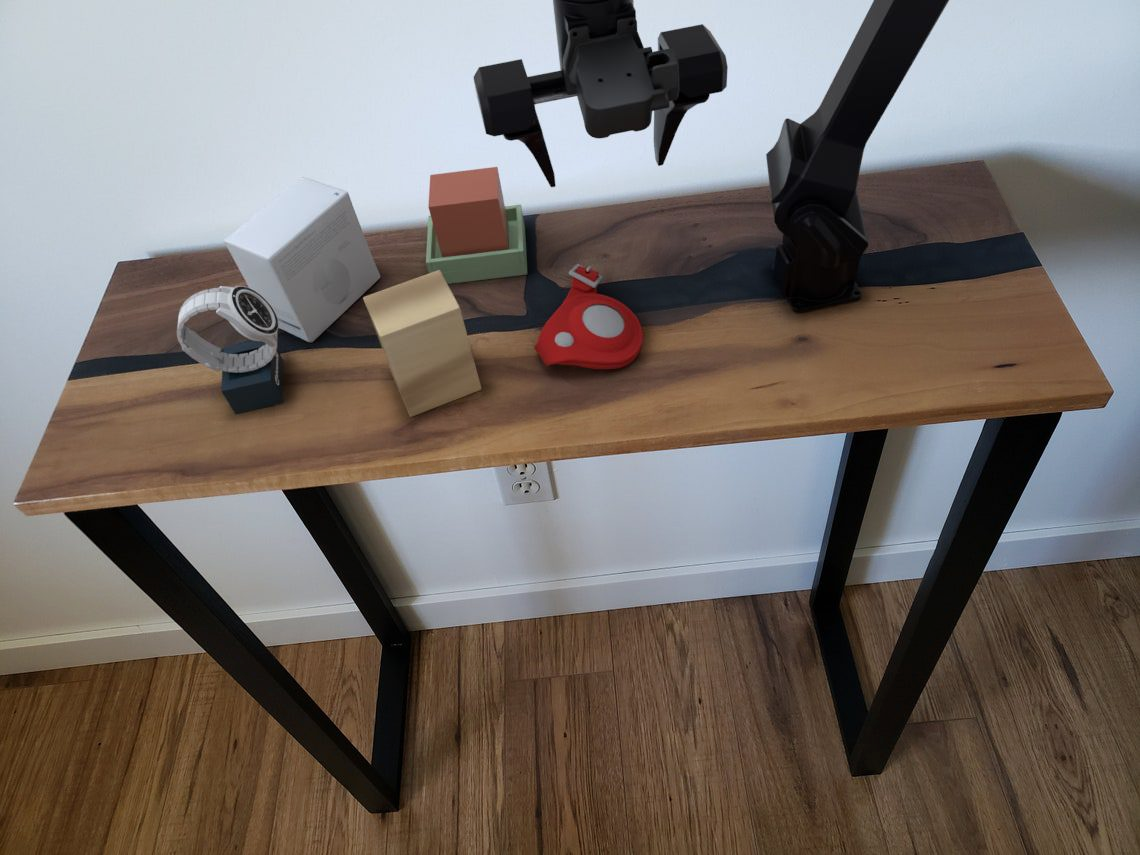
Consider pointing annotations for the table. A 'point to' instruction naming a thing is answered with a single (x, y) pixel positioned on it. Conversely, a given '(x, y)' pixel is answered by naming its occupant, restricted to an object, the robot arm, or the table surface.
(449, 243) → the reddish brown rectangular block
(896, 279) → the table surface
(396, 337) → the block
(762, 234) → the table surface
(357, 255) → the cosmetics box
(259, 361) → the watch
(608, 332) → the tracker holder
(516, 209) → the tray
